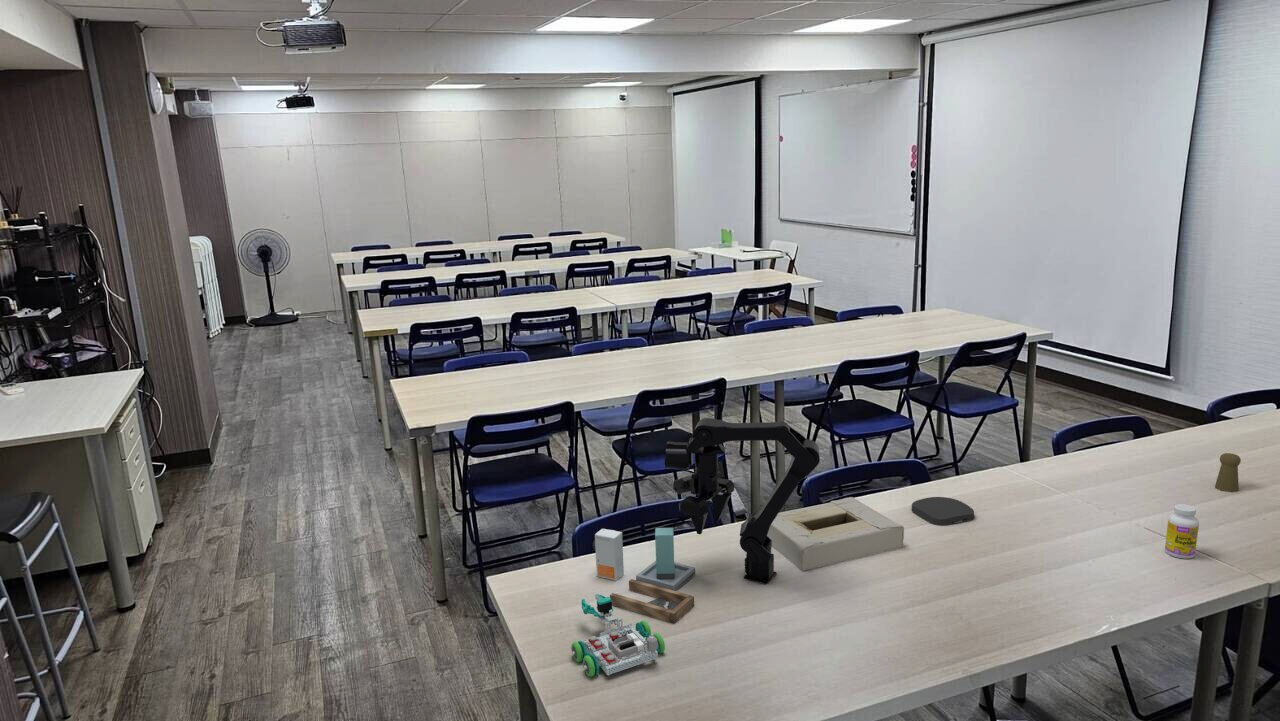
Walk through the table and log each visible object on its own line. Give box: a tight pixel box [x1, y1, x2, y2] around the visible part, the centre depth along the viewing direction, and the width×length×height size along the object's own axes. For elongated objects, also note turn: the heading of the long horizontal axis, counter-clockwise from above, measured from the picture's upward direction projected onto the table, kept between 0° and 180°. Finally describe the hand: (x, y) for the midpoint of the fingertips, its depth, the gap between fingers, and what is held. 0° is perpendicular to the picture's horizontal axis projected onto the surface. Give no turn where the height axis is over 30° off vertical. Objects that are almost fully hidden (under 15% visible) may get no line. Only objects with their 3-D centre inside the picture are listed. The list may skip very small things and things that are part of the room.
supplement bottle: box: [1164, 503, 1200, 560], centre depth 215 cm, size 7×7×13 cm
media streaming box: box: [911, 496, 975, 526], centre depth 247 cm, size 15×15×3 cm
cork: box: [1214, 452, 1241, 493], centre depth 256 cm, size 6×6×11 cm
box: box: [767, 496, 905, 572], centre depth 231 cm, size 23×8×32 cm
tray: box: [635, 560, 696, 592], centre depth 214 cm, size 11×11×2 cm
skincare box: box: [594, 528, 625, 582], centre depth 216 cm, size 6×4×12 cm
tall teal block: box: [654, 527, 675, 580], centre depth 213 cm, size 5×5×12 cm
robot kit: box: [570, 593, 666, 678], centre depth 185 cm, size 19×25×9 cm
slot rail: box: [609, 578, 695, 625], centre depth 202 cm, size 18×9×2 cm, turn 57°
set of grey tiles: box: [647, 597, 680, 610], centre depth 199 cm, size 9×7×1 cm
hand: (708, 527), depth 213 cm, fingers open, 9 cm apart
